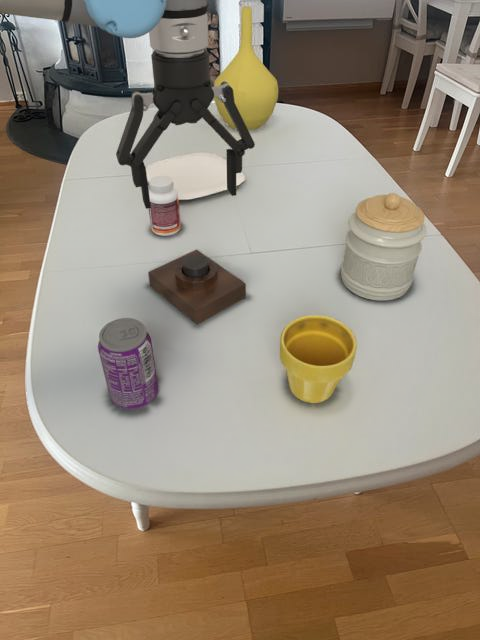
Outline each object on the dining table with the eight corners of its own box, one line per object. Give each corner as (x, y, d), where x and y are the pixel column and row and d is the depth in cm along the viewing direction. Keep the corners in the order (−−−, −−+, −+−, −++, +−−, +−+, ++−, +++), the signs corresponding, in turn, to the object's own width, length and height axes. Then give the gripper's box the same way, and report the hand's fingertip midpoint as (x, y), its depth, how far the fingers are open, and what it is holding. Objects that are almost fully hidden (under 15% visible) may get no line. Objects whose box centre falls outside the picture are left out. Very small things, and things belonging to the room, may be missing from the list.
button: (178, 270, 91) (177, 260, 89) (198, 260, 93) (197, 251, 92) (193, 282, 88) (192, 272, 87) (213, 272, 91) (213, 262, 89)
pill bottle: (186, 231, 109) (182, 182, 102) (160, 240, 106) (154, 191, 99) (171, 218, 113) (166, 170, 105) (146, 227, 110) (139, 179, 103)
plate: (255, 186, 124) (255, 180, 123) (173, 211, 115) (172, 204, 114) (210, 153, 137) (210, 147, 136) (134, 173, 129) (133, 166, 128)
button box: (149, 286, 95) (146, 263, 92) (197, 262, 100) (196, 241, 97) (196, 324, 87) (195, 301, 84) (245, 297, 93) (246, 275, 89)
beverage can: (152, 370, 79) (143, 310, 71) (164, 404, 74) (156, 344, 66) (106, 382, 77) (91, 322, 69) (115, 418, 73) (100, 358, 65)
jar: (389, 312, 90) (411, 223, 78) (326, 282, 96) (338, 196, 84) (423, 278, 97) (448, 192, 85) (362, 252, 103) (378, 168, 92)
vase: (232, 141, 143) (232, 19, 123) (203, 119, 155) (198, 4, 135) (288, 129, 150) (296, 11, 130) (256, 108, 162) (259, -2, 142)
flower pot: (342, 421, 72) (352, 374, 66) (269, 405, 74) (272, 358, 68) (350, 368, 80) (360, 321, 73) (284, 355, 82) (289, 308, 75)
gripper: (83, 66, 62) (112, 222, 76) (280, 49, 67) (273, 197, 81) (79, 49, 67) (106, 198, 81) (261, 35, 73) (257, 176, 87)
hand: (190, 198), depth 81 cm, fingers open, 13 cm apart
